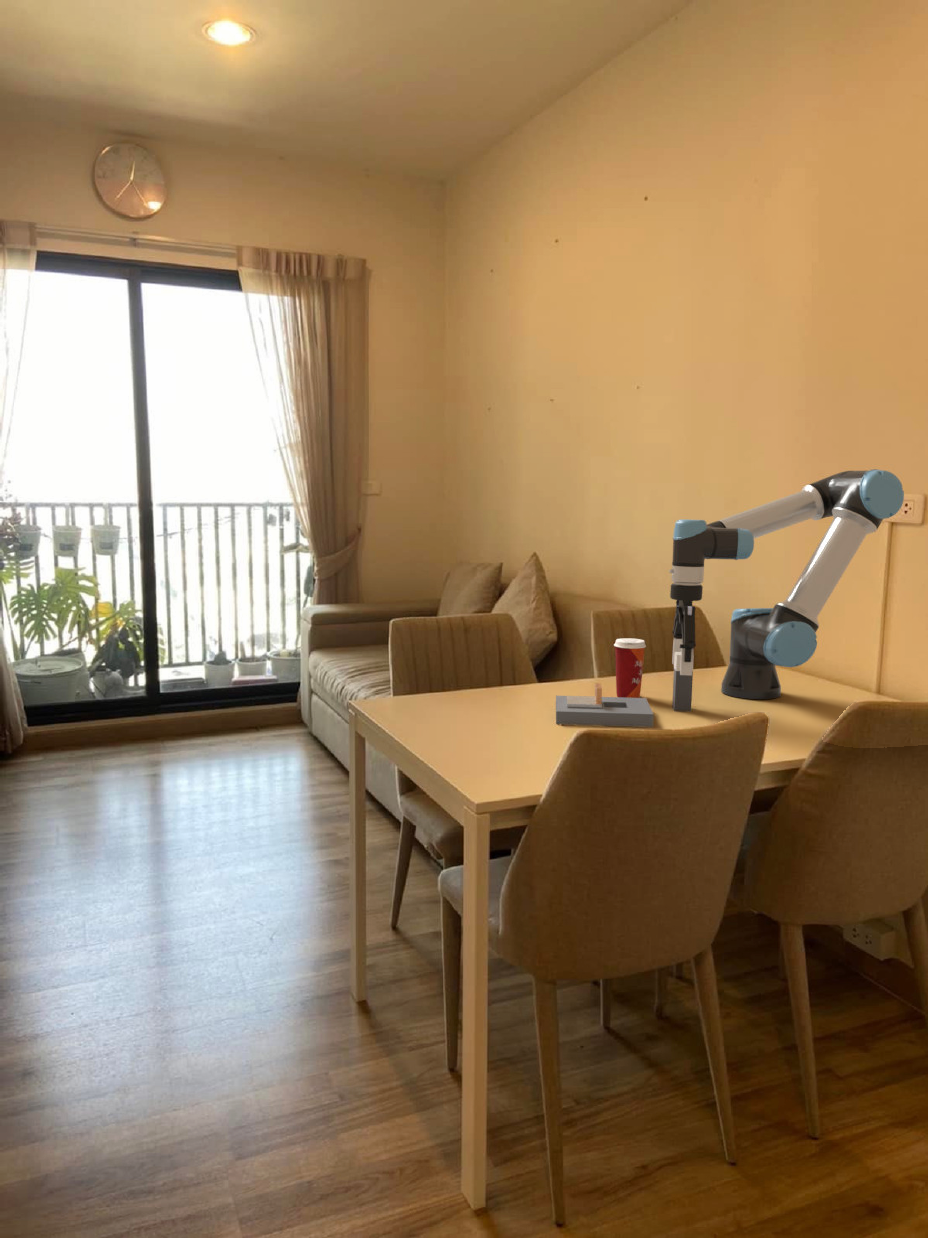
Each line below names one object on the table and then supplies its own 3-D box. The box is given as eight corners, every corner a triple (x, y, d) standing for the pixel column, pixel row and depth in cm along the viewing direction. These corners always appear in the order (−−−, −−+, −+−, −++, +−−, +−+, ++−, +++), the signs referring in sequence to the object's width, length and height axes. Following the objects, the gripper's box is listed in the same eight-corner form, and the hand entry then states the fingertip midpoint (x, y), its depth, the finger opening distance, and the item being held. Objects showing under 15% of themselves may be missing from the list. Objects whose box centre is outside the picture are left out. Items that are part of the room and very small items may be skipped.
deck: (645, 710, 219) (645, 698, 219) (653, 727, 203) (653, 714, 203) (555, 707, 221) (555, 695, 221) (556, 723, 205) (556, 711, 205)
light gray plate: (599, 700, 216) (600, 682, 215) (601, 708, 208) (602, 689, 207) (566, 699, 216) (566, 681, 216) (567, 707, 209) (567, 688, 208)
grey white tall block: (688, 707, 222) (691, 652, 220) (691, 711, 218) (693, 655, 216) (672, 707, 222) (674, 651, 220) (674, 710, 218) (676, 654, 216)
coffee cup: (644, 701, 228) (646, 643, 226) (611, 699, 230) (613, 642, 228) (644, 694, 236) (646, 638, 234) (612, 692, 238) (614, 637, 236)
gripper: (664, 578, 228) (660, 659, 231) (678, 588, 204) (673, 679, 207) (694, 579, 228) (689, 660, 231) (711, 589, 203) (706, 680, 206)
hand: (681, 669), depth 219 cm, fingers open, 13 cm apart
